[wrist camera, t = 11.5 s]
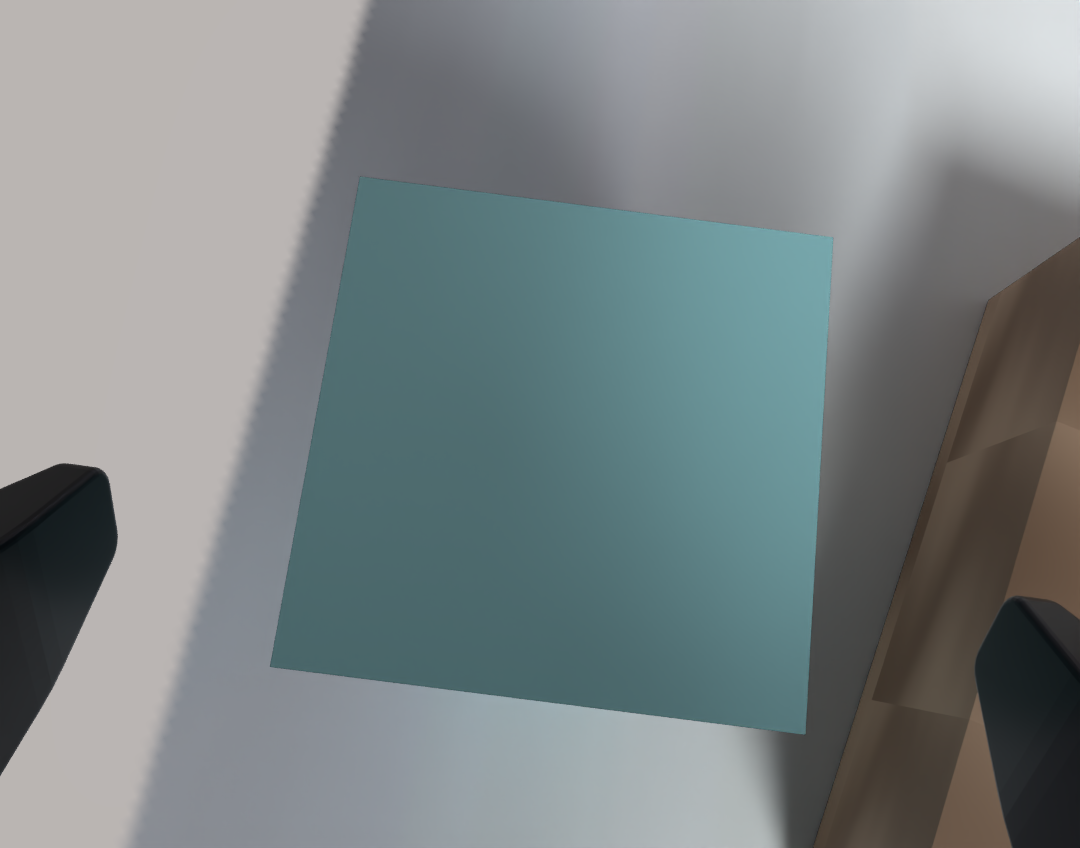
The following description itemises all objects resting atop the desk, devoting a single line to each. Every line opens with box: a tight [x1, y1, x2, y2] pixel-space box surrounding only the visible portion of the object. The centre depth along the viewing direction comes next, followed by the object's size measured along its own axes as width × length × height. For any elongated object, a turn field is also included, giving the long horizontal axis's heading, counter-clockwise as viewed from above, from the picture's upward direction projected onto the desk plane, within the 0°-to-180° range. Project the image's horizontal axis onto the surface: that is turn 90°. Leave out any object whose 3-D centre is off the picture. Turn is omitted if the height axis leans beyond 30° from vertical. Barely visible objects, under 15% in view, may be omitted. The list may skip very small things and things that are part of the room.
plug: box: [270, 177, 833, 735], centre depth 12 cm, size 4×4×10 cm
